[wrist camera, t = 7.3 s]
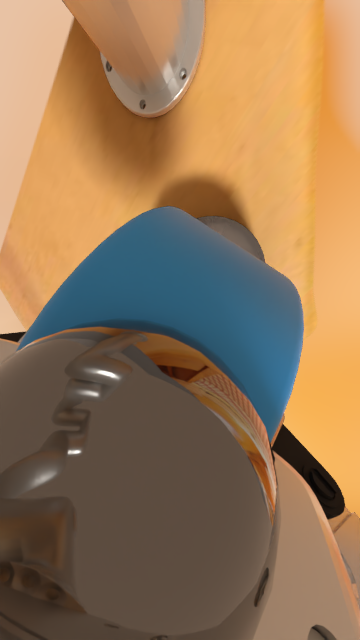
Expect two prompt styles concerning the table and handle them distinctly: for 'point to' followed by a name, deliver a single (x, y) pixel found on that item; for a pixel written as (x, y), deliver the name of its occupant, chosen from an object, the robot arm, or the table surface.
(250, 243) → the round tin
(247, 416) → the alarm clock
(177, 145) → the table surface
